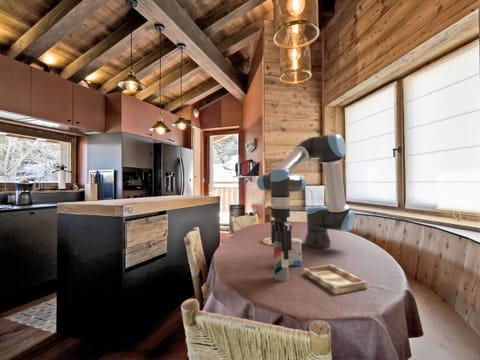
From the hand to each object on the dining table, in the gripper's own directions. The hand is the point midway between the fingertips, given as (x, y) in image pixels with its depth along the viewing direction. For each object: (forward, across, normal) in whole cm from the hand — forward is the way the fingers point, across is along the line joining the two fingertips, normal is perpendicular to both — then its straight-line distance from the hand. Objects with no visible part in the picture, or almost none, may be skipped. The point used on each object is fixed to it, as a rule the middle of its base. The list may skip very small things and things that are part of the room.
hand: (281, 264), depth 103 cm
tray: (+6, +9, +18) cm, 21 cm away
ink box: (+6, -14, +13) cm, 20 cm away
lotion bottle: (+6, 0, 0) cm, 6 cm away
